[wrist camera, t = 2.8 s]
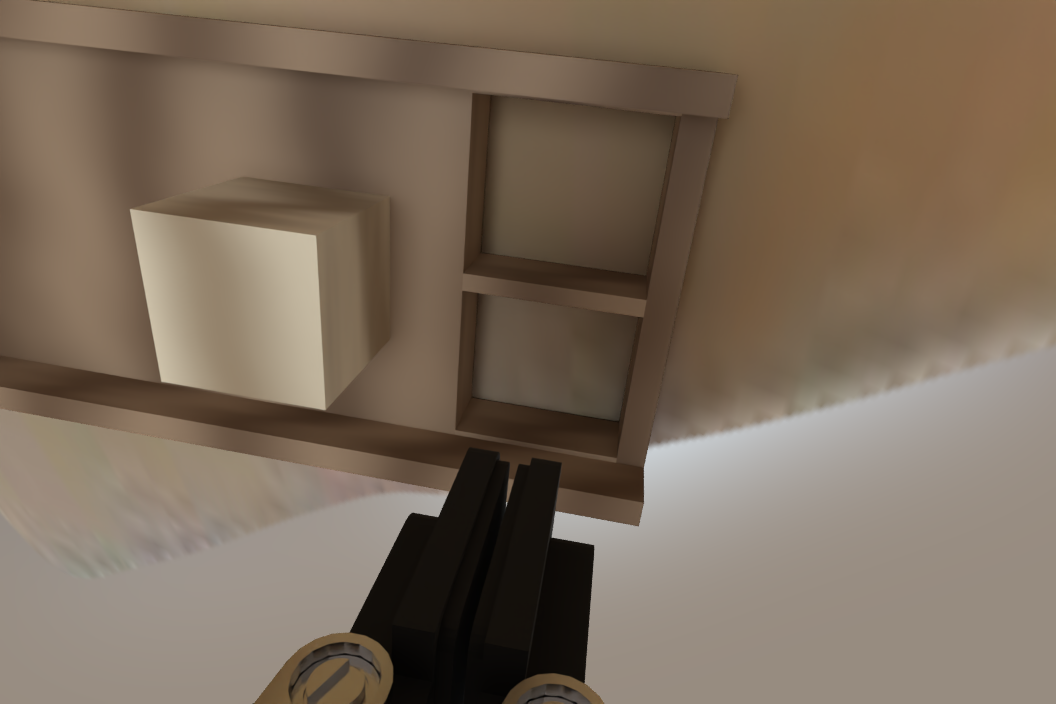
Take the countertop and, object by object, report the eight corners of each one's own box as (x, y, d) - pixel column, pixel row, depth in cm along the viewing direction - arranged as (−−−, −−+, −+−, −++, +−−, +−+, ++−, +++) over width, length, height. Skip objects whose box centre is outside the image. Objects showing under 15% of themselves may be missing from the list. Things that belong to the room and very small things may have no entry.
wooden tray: (717, 72, 19) (744, 76, 14) (639, 451, 25) (638, 546, 20) (-87, -13, 22) (-297, -35, 17) (16, 344, 28) (-116, 404, 23)
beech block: (389, 196, 20) (316, 235, 15) (390, 339, 22) (325, 409, 17) (242, 176, 20) (129, 208, 16) (257, 318, 22) (161, 381, 18)
